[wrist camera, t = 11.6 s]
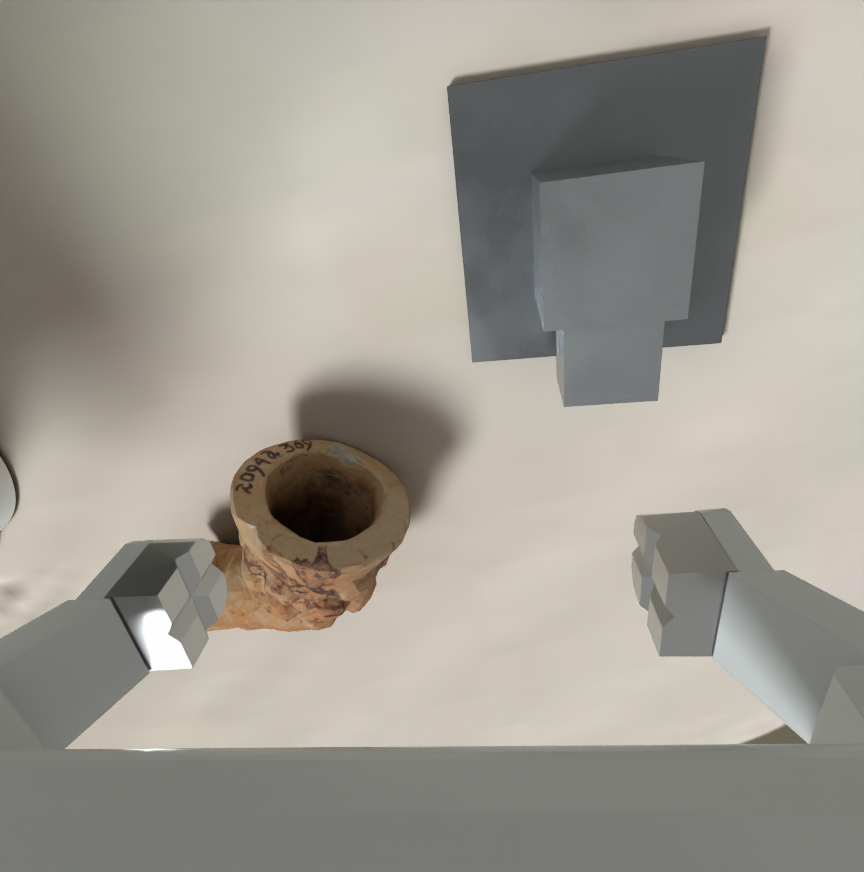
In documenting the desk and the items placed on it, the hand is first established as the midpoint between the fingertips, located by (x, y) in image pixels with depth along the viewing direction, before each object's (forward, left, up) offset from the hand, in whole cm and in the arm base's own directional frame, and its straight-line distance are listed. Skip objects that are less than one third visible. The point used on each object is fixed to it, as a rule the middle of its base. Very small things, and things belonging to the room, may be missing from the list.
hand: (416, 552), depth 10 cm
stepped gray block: (+7, 0, -22) cm, 23 cm away
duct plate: (+7, +2, -23) cm, 24 cm away
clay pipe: (-14, -16, -23) cm, 32 cm away
